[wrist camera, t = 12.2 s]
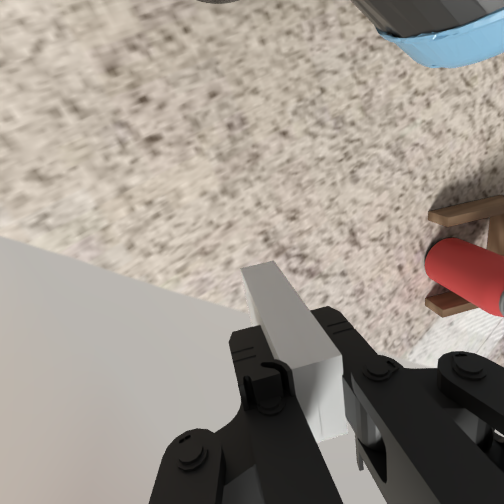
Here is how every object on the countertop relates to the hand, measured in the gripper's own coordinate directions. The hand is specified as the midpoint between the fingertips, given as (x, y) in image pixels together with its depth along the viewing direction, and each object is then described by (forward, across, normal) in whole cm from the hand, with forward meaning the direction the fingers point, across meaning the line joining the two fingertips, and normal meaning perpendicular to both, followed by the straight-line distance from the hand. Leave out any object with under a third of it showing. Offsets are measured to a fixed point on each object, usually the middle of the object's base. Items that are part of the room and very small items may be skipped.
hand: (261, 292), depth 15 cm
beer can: (+25, +30, -15) cm, 42 cm away
